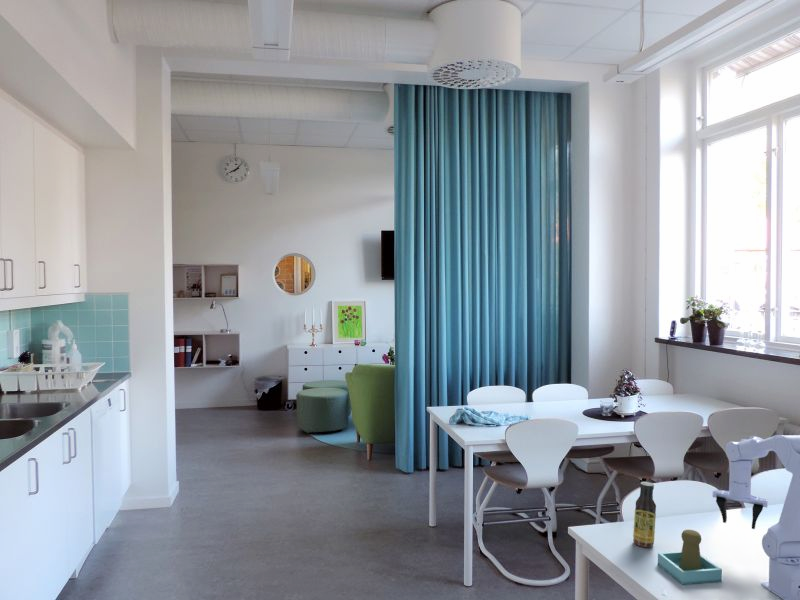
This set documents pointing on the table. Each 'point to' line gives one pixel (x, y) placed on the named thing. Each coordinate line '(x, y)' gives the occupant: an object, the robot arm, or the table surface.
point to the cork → (690, 551)
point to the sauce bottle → (645, 516)
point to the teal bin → (706, 575)
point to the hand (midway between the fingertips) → (738, 524)
